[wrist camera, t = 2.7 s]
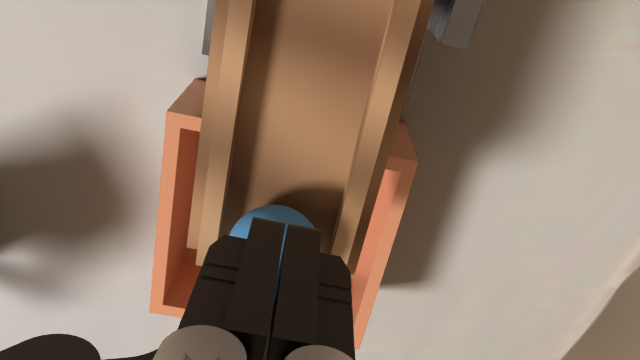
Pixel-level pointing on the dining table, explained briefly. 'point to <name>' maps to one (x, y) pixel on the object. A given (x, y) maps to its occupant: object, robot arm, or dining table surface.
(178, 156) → the cup
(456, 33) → the lever stand
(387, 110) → the lever
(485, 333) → the dining table surface
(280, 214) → the ball
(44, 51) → the dining table surface
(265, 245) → the robot arm
